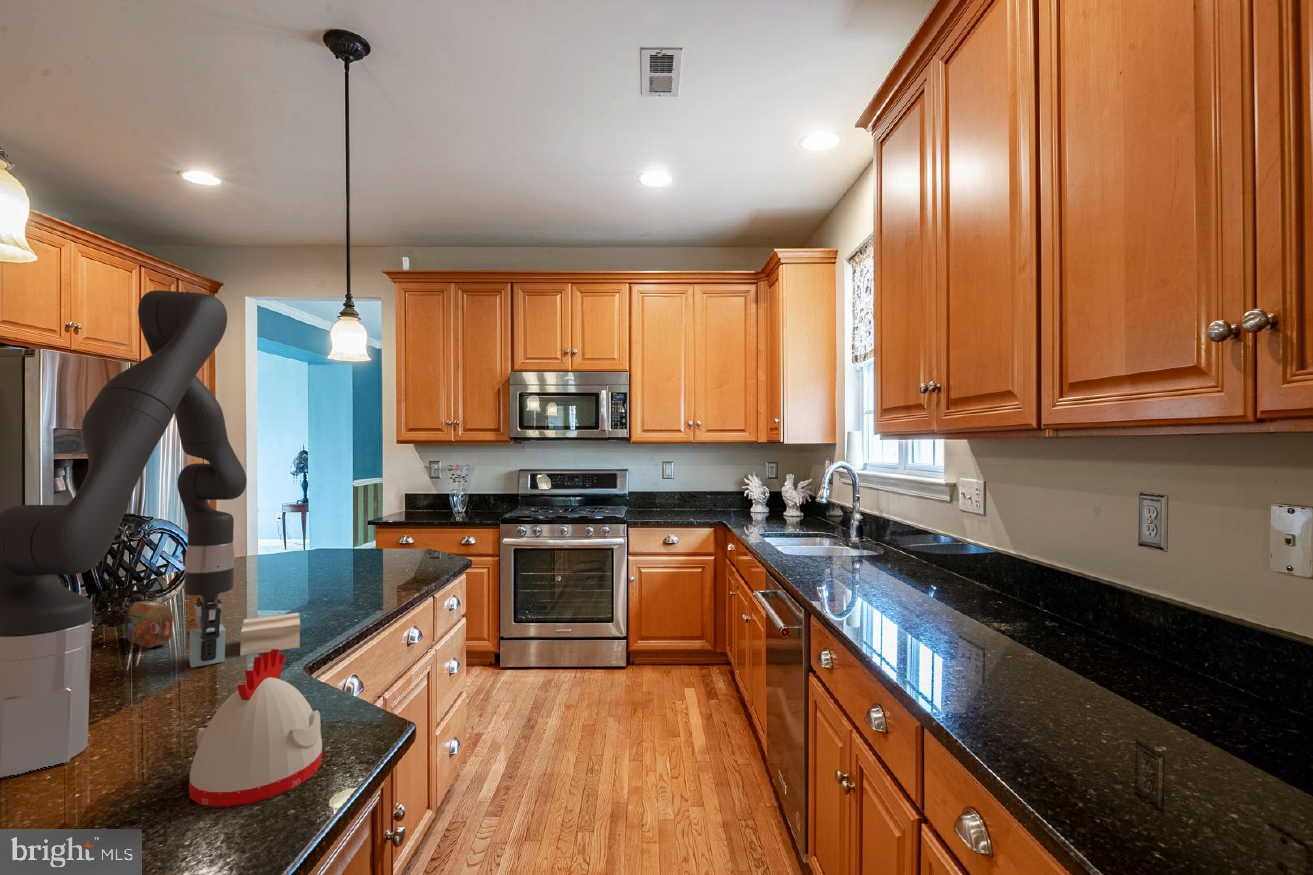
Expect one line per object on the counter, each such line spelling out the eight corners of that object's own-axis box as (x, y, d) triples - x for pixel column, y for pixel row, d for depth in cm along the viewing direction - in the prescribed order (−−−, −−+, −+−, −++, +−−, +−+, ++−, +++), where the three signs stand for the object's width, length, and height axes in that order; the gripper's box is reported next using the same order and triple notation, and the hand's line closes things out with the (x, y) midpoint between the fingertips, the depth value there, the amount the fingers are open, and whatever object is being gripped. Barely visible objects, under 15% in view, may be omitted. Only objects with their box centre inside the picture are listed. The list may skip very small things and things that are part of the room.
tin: (122, 639, 124) (124, 599, 124) (141, 635, 127) (142, 596, 127) (156, 651, 117) (158, 609, 117) (175, 647, 120) (176, 606, 120)
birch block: (299, 648, 120) (300, 624, 121) (240, 657, 115) (241, 631, 115) (298, 635, 129) (299, 612, 129) (243, 642, 123) (244, 619, 124)
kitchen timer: (342, 745, 81) (344, 637, 81) (281, 806, 67) (285, 675, 68) (239, 746, 80) (243, 637, 81) (158, 807, 67) (162, 675, 67)
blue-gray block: (224, 661, 111) (225, 629, 111) (191, 667, 108) (192, 635, 108) (221, 654, 115) (222, 623, 115) (189, 660, 112) (190, 628, 112)
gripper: (239, 570, 109) (236, 661, 109) (229, 559, 120) (226, 642, 119) (187, 575, 104) (184, 671, 104) (182, 563, 115) (179, 650, 114)
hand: (206, 655), depth 111 cm, fingers closed on blue-gray block, 5 cm apart
